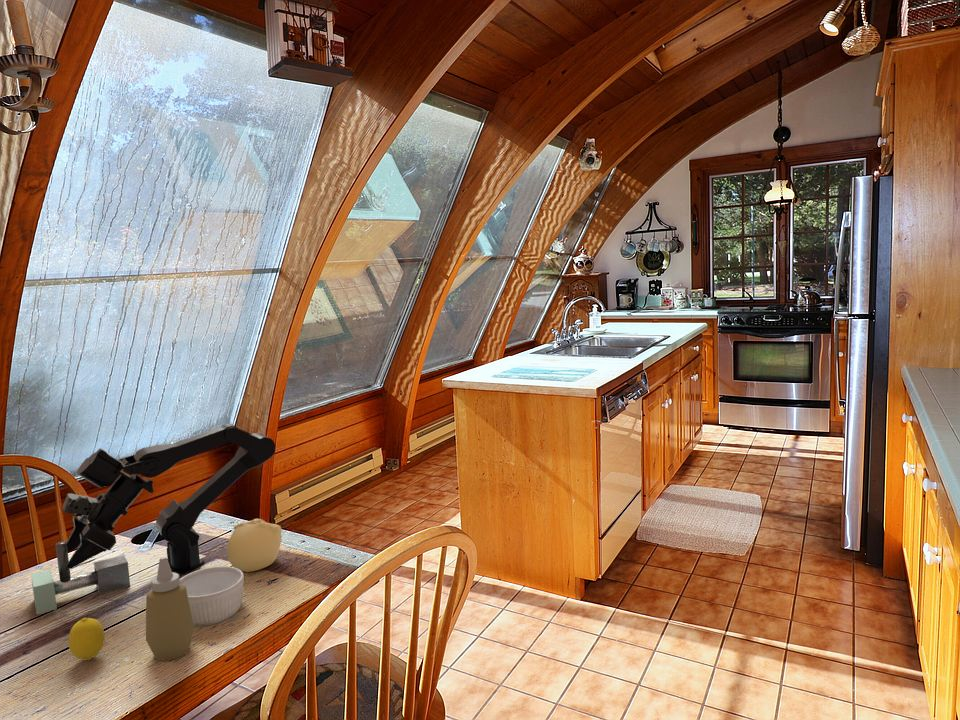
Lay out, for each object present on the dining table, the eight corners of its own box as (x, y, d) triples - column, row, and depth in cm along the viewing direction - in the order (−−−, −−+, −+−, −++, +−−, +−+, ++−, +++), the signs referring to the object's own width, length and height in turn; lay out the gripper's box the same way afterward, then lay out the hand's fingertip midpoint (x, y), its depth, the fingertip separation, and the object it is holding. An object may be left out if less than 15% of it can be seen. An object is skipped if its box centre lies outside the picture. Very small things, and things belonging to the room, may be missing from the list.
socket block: (53, 594, 145) (50, 568, 144) (57, 609, 139) (53, 582, 138) (34, 600, 143) (30, 573, 142) (36, 614, 137) (33, 587, 136)
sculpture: (289, 555, 162) (286, 513, 160) (265, 578, 150) (262, 532, 149) (246, 553, 164) (242, 511, 162) (219, 575, 152) (215, 530, 151)
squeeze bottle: (148, 670, 116) (138, 572, 114) (147, 647, 123) (137, 555, 121) (198, 657, 120) (189, 562, 117) (194, 635, 127) (186, 545, 124)
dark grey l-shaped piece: (102, 579, 148) (97, 532, 147) (104, 584, 146) (99, 536, 144) (38, 596, 141) (32, 547, 140) (39, 601, 139) (33, 551, 137)
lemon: (80, 652, 122) (76, 611, 121) (112, 649, 123) (107, 609, 122) (64, 670, 117) (59, 627, 116) (97, 667, 117) (92, 625, 116)
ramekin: (214, 634, 127) (211, 600, 126) (160, 624, 132) (157, 590, 131) (259, 601, 140) (257, 570, 139) (209, 593, 144) (206, 562, 143)
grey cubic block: (126, 578, 152) (123, 555, 151) (130, 585, 148) (127, 562, 147) (96, 586, 148) (93, 562, 148) (99, 594, 145) (96, 570, 144)
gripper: (80, 469, 150) (27, 529, 146) (91, 490, 136) (33, 557, 131) (122, 495, 156) (73, 553, 151) (138, 517, 141) (84, 582, 136)
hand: (66, 560), depth 142 cm, fingers open, 9 cm apart
